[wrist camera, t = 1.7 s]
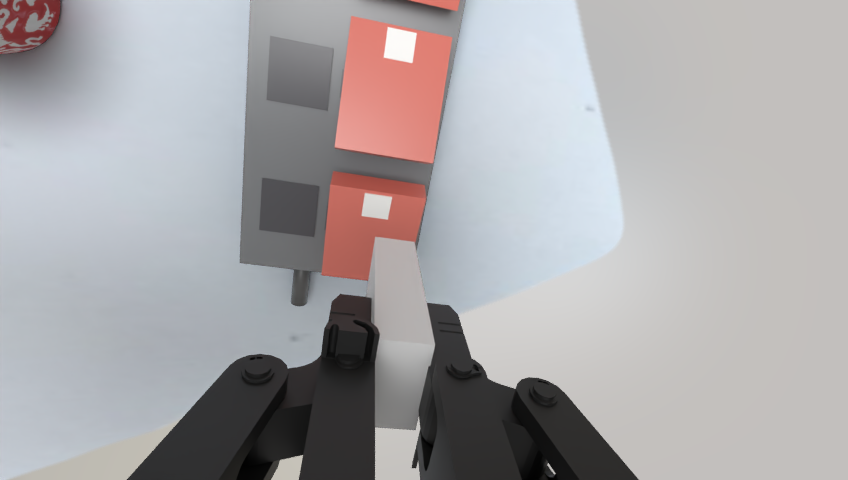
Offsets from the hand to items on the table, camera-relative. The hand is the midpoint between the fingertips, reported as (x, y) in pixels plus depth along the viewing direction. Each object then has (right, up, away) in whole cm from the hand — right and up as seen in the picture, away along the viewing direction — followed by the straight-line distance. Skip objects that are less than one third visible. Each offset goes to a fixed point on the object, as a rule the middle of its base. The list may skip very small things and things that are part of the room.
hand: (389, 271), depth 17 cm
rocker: (-2, +2, +12) cm, 12 cm away
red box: (0, +10, +8) cm, 13 cm away
